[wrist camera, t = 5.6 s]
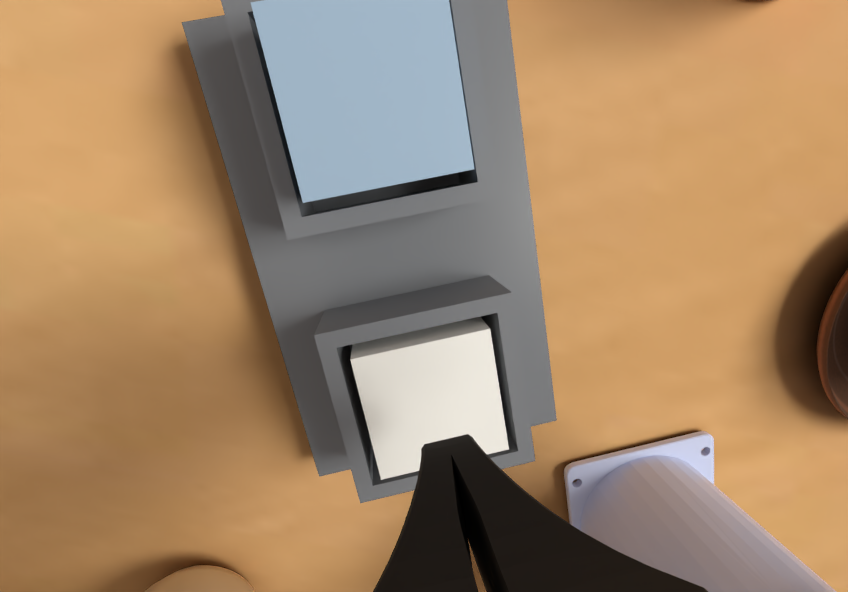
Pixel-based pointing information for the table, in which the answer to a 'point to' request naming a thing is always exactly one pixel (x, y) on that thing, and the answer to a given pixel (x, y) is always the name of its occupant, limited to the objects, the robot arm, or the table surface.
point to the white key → (429, 392)
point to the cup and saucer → (835, 347)
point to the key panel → (386, 242)
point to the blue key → (365, 91)
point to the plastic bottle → (202, 581)
